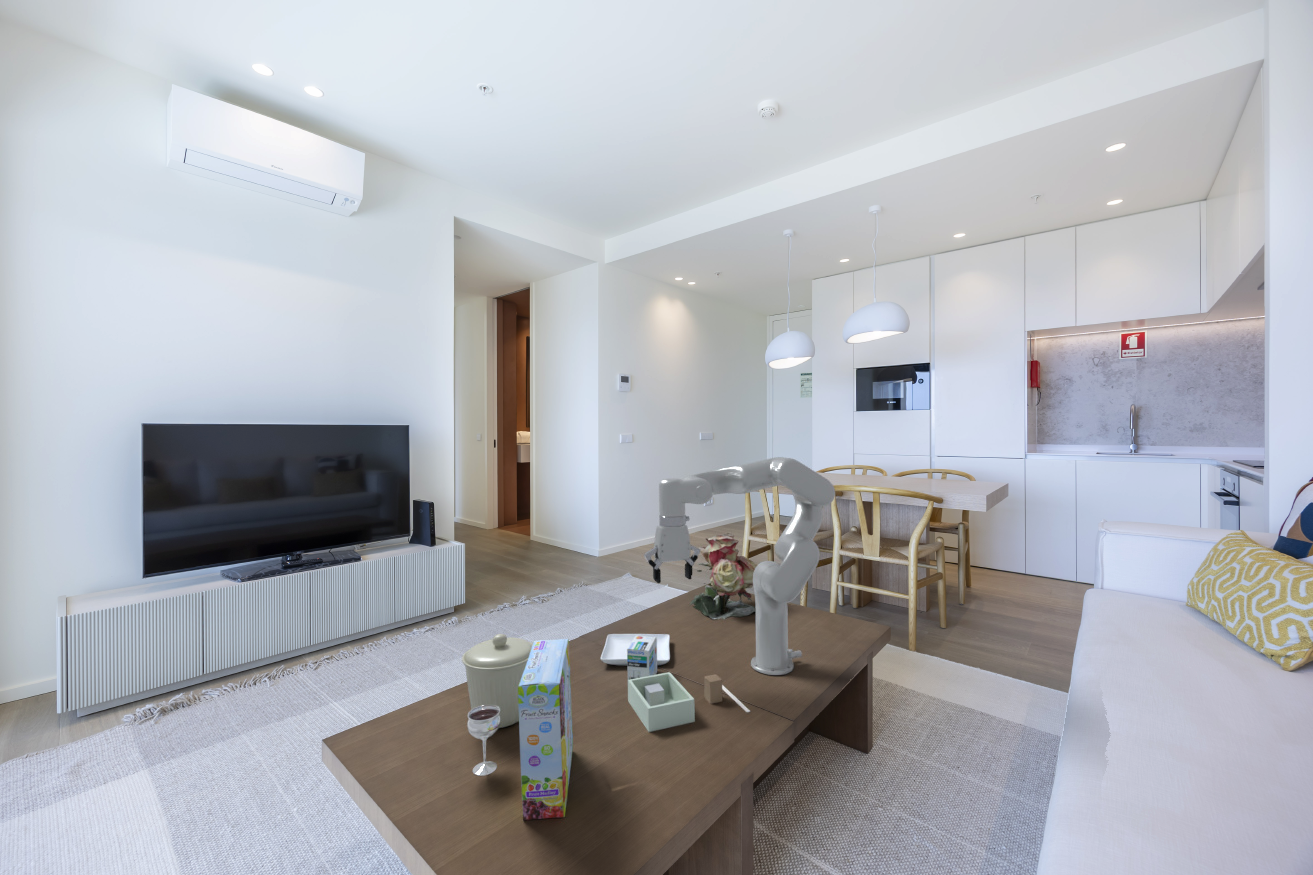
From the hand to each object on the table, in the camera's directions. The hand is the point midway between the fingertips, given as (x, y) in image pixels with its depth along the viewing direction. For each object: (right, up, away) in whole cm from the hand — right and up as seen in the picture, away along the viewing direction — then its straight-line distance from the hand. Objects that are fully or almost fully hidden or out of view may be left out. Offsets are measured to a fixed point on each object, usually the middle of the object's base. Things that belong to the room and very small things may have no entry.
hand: (673, 580), depth 157 cm
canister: (-44, -29, -21) cm, 57 cm away
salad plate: (-11, -29, +16) cm, 35 cm away
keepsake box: (-4, -29, -19) cm, 35 cm away
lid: (+10, -29, -14) cm, 34 cm away
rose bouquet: (+24, -28, +61) cm, 71 cm away
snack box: (-27, -30, -46) cm, 61 cm away
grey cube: (-5, -28, -16) cm, 33 cm away
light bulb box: (-9, -29, -1) cm, 30 cm away
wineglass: (-42, -30, -41) cm, 66 cm away
